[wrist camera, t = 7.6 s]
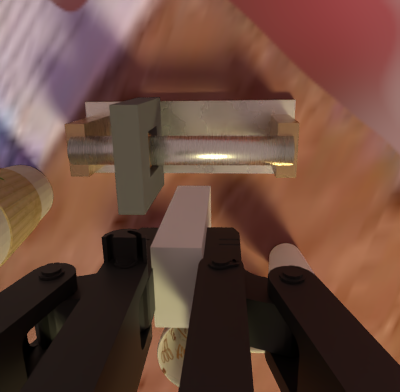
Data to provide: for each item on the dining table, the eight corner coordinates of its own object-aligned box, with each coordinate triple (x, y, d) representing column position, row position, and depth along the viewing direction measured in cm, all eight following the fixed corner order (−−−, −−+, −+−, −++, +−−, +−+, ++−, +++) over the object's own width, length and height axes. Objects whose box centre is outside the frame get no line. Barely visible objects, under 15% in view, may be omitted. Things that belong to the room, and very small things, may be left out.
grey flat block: (143, 183, 36) (118, 214, 28) (137, 97, 34) (109, 105, 26) (164, 184, 36) (144, 214, 28) (160, 97, 34) (137, 104, 26)
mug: (172, 260, 42) (154, 315, 33) (287, 265, 41) (303, 322, 32) (174, 324, 45) (158, 392, 35) (282, 329, 44) (296, 401, 34)
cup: (316, 239, 40) (348, 305, 29) (304, 283, 42) (330, 362, 30) (265, 230, 40) (277, 292, 29) (255, 274, 42) (263, 350, 30)
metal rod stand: (95, 170, 40) (60, 195, 32) (87, 101, 37) (48, 109, 30) (290, 171, 38) (305, 197, 30) (294, 99, 36) (311, 106, 28)
